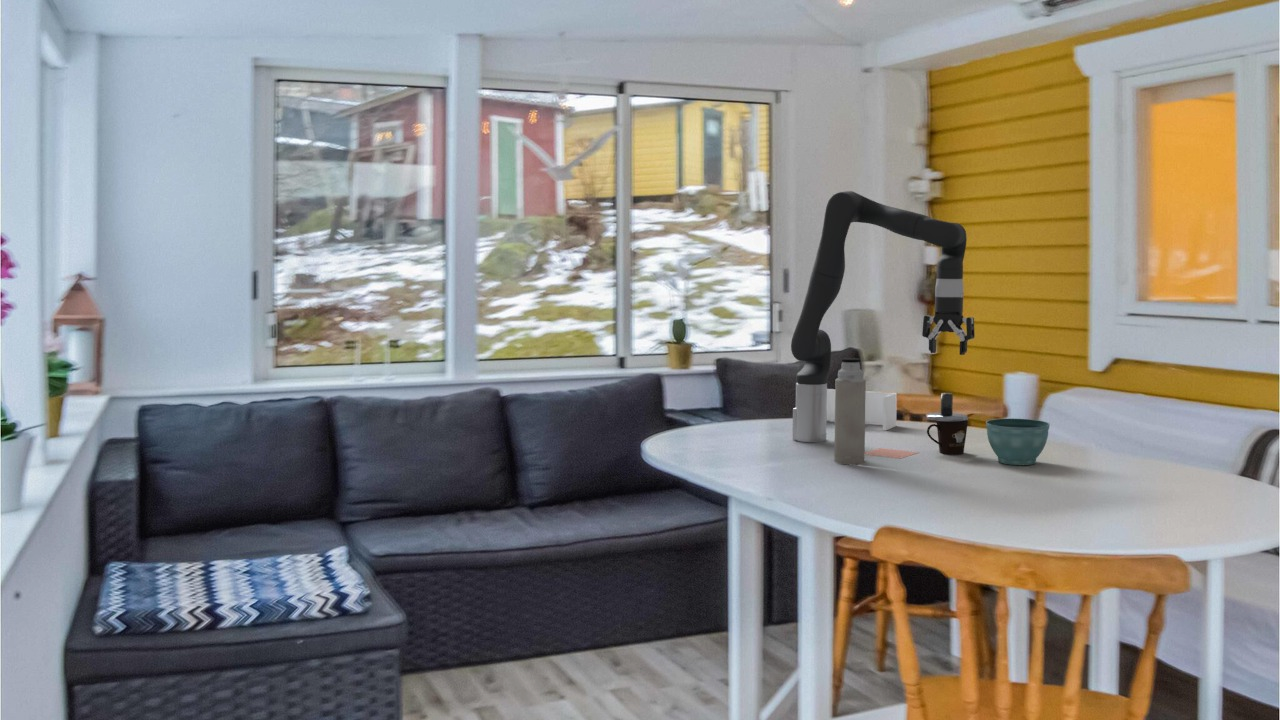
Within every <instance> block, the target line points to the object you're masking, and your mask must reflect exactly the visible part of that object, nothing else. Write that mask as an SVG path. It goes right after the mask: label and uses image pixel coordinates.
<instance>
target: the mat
mask: <svg viewBox="0 0 1280 720" xmlns="http://www.w3.org/2000/svg"><path fill="white" fill-rule="evenodd" d="M919 453H920V452H919V451H912V450H911V451H909V450H903V449H893V448H884V447H880V448H875V449H873V450H869V451H865V456H873V457H874V456H875V457H883V458H891V459H899V460H900V459H904V458H907V457H911V456H913V455H917V454H919Z"/></svg>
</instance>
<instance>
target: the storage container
mask: <svg viewBox="0 0 1280 720" xmlns="http://www.w3.org/2000/svg"><path fill="white" fill-rule="evenodd" d="M897 398H898V393H897V392H889V391H888V392H886V391H885V392H884V391H868V390H866V392H865V425H878V426H882V431H887V430H890V429H892V428H895V427H896V426H897V411H898V410H897V407H898V406H897V405H898V404H897V403H898V402H897V401H898V399H897ZM827 422H834V423H835V389H834V388H827Z"/></svg>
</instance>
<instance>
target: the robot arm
mask: <svg viewBox="0 0 1280 720" xmlns="http://www.w3.org/2000/svg"><path fill="white" fill-rule="evenodd" d="M824 210H825V211H824V218H823V225H822V232H821V236H820V241H819V244H818V248H817V252H816V255H815V259H814V262H813V265H812V269H811V272H810V273H811V274H810V277H809V281H808V286H807V291H806V294H805V298H804V302H803V306H802V309H801V312H800V316H799V317H798V320H797V324H796V326H795V329H794V331H793V334H792V338H791V342H790V348H791V349H790V350H791V354H792V356H793V358H795V359H796V360H797V361H798V362H799V361H800V362H804V365H803V366H802V368H801V370H800V371H798V372H797V373H796V376H795V407H793V409H792V440H795V441H798V442H803V443H822V442H826V441H827V425H828V424H827V422H828V421H827V389H828V377H829V374H830V371H831V361H832V359H831V358H832V343H831V339H830V336H829V334H828V333H827V331H825V330H822V329H820V326H821V324H822V321H823V318H824V316H825V314H826V313H827V311H828V310H829V308H830V307H831V306H832V304H833V303H834V302H835V300H836V299H837V297H838V295H839V293H840V290H841V287H842V283H843V280H844V275H845V270H846V257H845V246H846V244H845V243H846V239H847V236H848V232H849V229H850V227H851V224H852V223H861V224H862V223H864V224H870V225H873V226H877V227H880V228H883V229H885V230H888V231H890V232H892V233H895V234H897V235H899V236H903V237H906V238H910V239H914V240H917V241H918V240H919V241H923V242H926V243H929V244H932V245H934V246H937V247H940V248H941V249H940V257H939V259H938V260H937V261H936V262H937V263H936V279H935V288H934V289H935V290H934V293H935V294H934V316H932V315H930V314H928V315H924V316H923V322H922V324H923V325H922V337H923V338H926V339H928V351H929V352H930V353H931V354H936V353H937V339H936V338H937V337H938V335H940V334H941V333H945V332H946V333H947V332H948V333H954V334H955V335H957V336H958V339H959V340H960V341H959V355H960V356H964V355H966V353H967V352H968V341H970V340H973V339H975V318H974V317H973V316H969V317H964V315H963V313H964V312H963V311H964V293H965V291H964V259H965V258H964V257H965V255H966V254H965V253H966V249H967V248H966V247H967V239H968V238H967V231H966V229H965V227H964V226H963V225H962V224H961V223H958V222H950V221H946V220H945V221H944V220H942V219H941V220H939V219H937V218H933V217H932V218H931V217H930V216H928V215H926V214H922V213H918V212H913V211H910V210H906V209H901V208H898V207H893V206H889V205H886V204H883V203H880V202H877V201H875V200H873V199H870V198H868V197H865V196H863V195H861V194H859V193H857V192H855V191H853V190H845V191H837V192H835V193H833V194H832V195H831V196H830V197H829V198H828V200H827V202H826V206H825V209H824ZM933 322H934V324H935V326H934V327H933V328H932V329H931V327H932V326H931V325H932V324H933ZM963 323H964V325H965V326H966V332H965V329H964V328H963V327H962V325H963Z"/></svg>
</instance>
